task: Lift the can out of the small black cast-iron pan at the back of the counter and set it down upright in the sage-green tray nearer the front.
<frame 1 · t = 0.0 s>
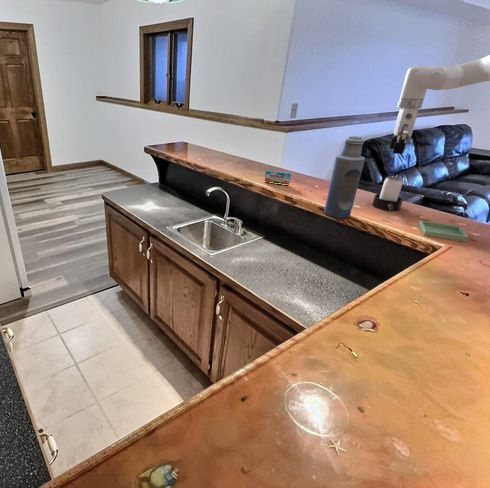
hand: (395, 151, 135), 23 cm above the counter, tool pointing down, fingers open, 9 cm apart
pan: (385, 206, 148), on the counter
bottle: (336, 214, 139), on the counter
teal printed box: (276, 184, 175), on the counter
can: (385, 206, 148), resting in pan
tray: (441, 233, 123), on the counter
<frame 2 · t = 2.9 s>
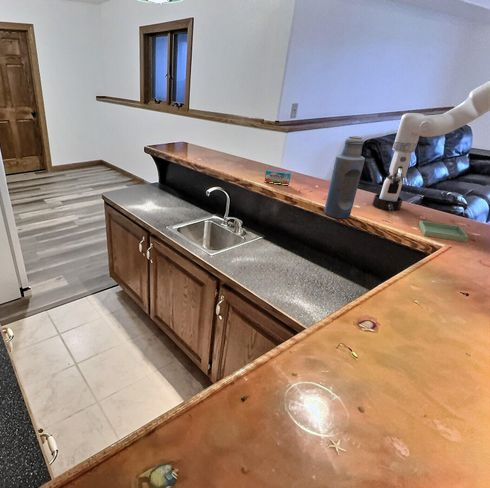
hand: (390, 190, 144), 7 cm above the counter, tool pointing down, fingers closed on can, 6 cm apart
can: (385, 206, 148), resting in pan, touching gripper
everything else where it was.
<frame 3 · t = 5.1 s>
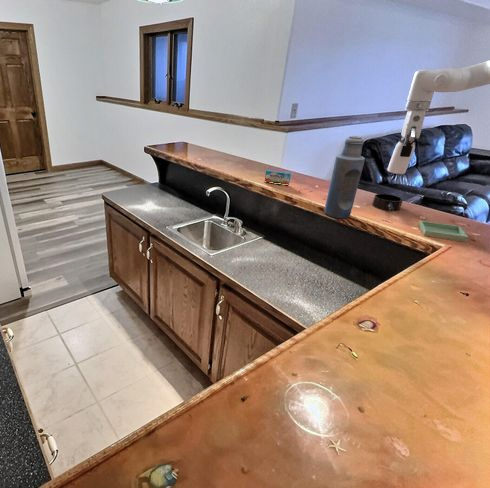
hand: (403, 154, 137), 22 cm above the counter, tool pointing down, fingers closed on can, 6 cm apart
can: (395, 172, 141), point 15 cm above the counter, touching gripper
everything else where it was.
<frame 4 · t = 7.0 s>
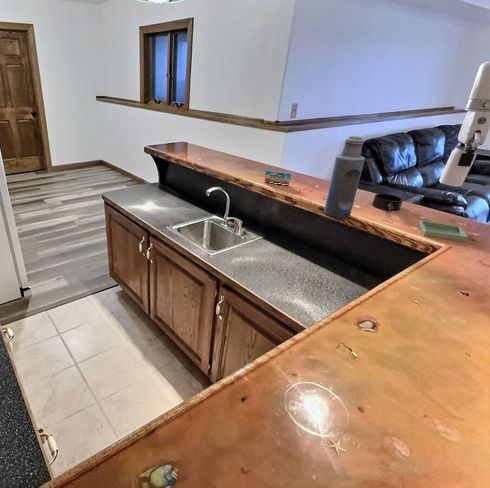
hand: (460, 163, 115), 24 cm above the counter, tool pointing down, fingers closed on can, 6 cm apart
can: (449, 184, 119), point 17 cm above the counter, touching gripper
everything else where it was.
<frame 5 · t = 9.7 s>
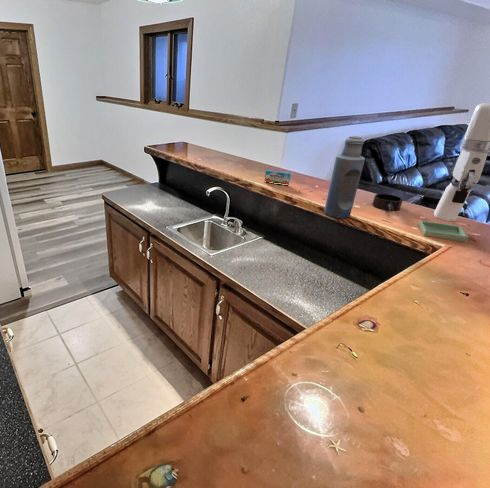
hand: (454, 198, 118), 13 cm above the counter, tool pointing down, fingers closed on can, 6 cm apart
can: (443, 218, 122), point 5 cm above the counter, touching gripper
everything else where it was.
when the fingers open (8 cm above the counter, at t = 11.5 s): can stays where it is, resting on tray.
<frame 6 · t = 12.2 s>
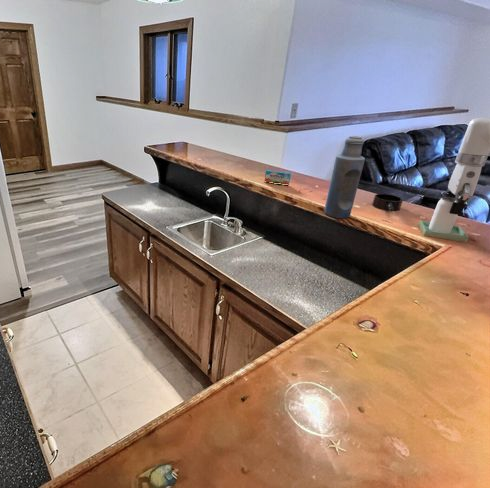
hand: (451, 209, 119), 9 cm above the counter, tool pointing down, fingers open, 9 cm apart
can: (438, 232, 124), resting on tray
everything else where it was.
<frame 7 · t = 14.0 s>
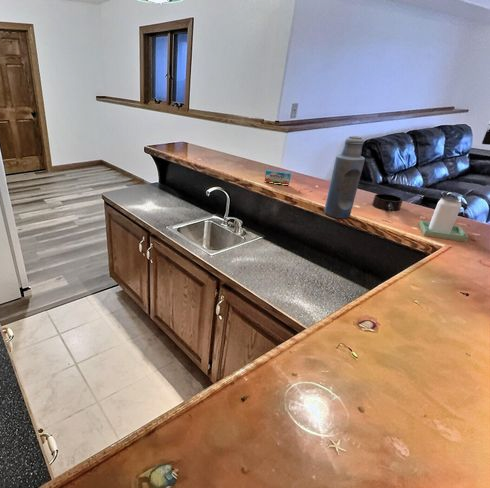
nothing on the counter moved.
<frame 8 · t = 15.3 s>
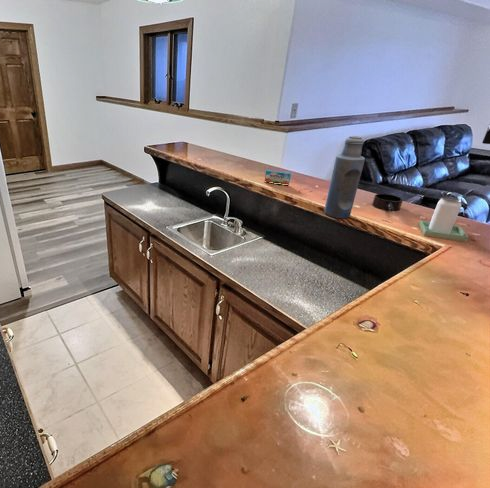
nothing on the counter moved.
at the end: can inside the target area in the tray (0.9 cm from its centre), point 0.2 cm above the tray's base; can tilted 0°; the gripper is holding nothing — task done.
